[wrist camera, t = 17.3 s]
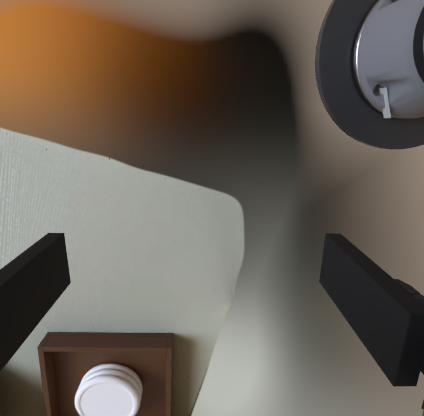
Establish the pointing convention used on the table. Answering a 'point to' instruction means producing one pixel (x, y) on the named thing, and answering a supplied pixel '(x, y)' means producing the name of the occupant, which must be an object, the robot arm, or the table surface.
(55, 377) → the holder
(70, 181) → the table surface
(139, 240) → the table surface
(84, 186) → the table surface
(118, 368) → the coaster
